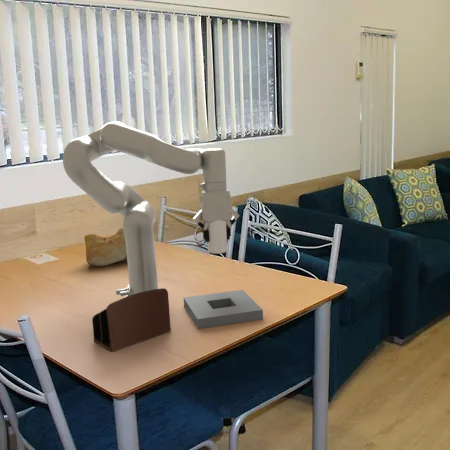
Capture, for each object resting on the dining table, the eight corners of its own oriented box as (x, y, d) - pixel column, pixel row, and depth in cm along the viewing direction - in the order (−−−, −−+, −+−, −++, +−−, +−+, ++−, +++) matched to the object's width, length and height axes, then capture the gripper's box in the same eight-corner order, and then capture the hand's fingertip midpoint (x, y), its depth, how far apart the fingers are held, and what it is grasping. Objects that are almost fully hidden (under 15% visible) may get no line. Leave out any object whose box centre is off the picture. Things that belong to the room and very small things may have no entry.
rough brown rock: (136, 254, 257) (131, 221, 254) (145, 260, 241) (140, 225, 239) (83, 264, 249) (78, 229, 246) (88, 270, 233) (83, 234, 231)
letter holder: (171, 331, 169) (168, 285, 166) (111, 353, 156) (107, 303, 153) (152, 322, 176) (149, 278, 173) (93, 342, 163) (88, 294, 160)
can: (225, 254, 190) (224, 218, 188) (206, 254, 192) (204, 218, 189) (228, 249, 197) (227, 214, 194) (210, 249, 198) (208, 214, 195)
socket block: (198, 328, 169) (197, 319, 169) (184, 306, 188) (183, 297, 188) (262, 319, 175) (262, 309, 174) (242, 298, 193) (242, 289, 193)
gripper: (191, 190, 183) (194, 245, 187) (243, 186, 188) (245, 239, 192) (186, 187, 190) (189, 240, 194) (236, 183, 195) (238, 234, 199)
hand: (217, 239), depth 193 cm, fingers closed on can, 6 cm apart
